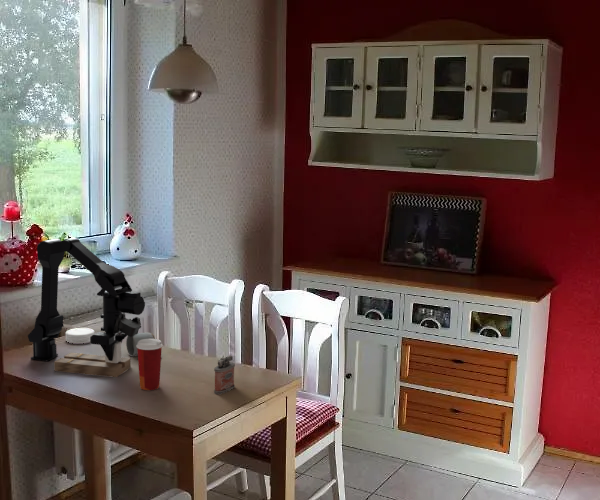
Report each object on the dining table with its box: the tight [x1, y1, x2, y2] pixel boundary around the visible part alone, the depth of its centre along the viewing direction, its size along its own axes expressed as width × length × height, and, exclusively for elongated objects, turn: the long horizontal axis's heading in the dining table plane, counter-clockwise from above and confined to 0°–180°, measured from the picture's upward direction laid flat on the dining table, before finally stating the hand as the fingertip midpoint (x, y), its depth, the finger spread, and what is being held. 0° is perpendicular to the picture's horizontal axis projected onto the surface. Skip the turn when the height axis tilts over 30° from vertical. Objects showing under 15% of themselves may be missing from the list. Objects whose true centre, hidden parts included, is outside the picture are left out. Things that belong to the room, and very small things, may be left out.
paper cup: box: [136, 338, 164, 391], centre depth 221 cm, size 8×8×14 cm
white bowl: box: [65, 327, 96, 345], centre depth 267 cm, size 10×10×4 cm
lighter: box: [213, 354, 236, 395], centre depth 220 cm, size 8×3×10 cm, turn 148°
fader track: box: [53, 352, 132, 378], centre depth 236 cm, size 21×10×3 cm, turn 78°
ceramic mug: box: [125, 332, 156, 357], centre depth 254 cm, size 11×8×8 cm
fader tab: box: [104, 342, 122, 363], centre depth 234 cm, size 4×3×8 cm
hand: (113, 359), depth 234 cm, fingers closed on fader tab, 3 cm apart
